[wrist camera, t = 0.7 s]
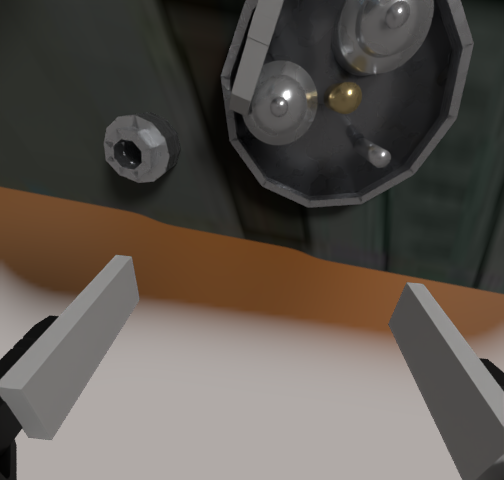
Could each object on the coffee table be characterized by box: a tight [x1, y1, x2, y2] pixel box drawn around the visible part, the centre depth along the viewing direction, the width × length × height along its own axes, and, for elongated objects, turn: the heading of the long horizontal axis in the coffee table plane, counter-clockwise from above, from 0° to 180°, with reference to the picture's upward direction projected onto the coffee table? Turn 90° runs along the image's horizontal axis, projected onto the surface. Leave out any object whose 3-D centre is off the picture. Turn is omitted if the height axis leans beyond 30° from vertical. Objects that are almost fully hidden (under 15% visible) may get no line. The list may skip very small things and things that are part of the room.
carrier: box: [221, 0, 474, 208], centre depth 25 cm, size 22×22×8 cm
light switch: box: [229, 0, 284, 116], centre depth 23 cm, size 2×12×8 cm, turn 159°
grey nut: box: [104, 112, 181, 183], centre depth 30 cm, size 7×7×6 cm
